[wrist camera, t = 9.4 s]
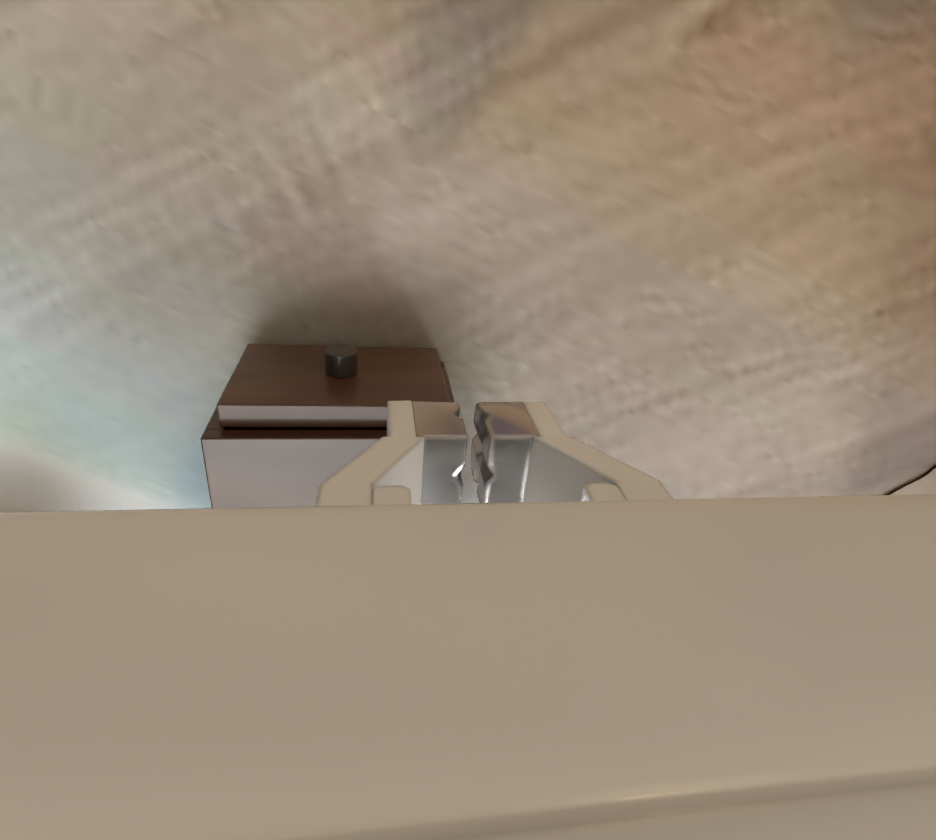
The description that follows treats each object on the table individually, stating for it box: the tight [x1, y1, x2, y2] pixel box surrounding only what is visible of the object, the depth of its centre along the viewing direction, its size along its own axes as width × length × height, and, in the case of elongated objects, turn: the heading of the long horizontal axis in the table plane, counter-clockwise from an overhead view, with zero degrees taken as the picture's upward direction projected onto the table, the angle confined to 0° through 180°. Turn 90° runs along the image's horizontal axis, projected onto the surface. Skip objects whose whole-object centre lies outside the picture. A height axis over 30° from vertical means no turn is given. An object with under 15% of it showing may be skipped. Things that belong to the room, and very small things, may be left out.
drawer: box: [217, 344, 450, 430], centre depth 32 cm, size 14×10×7 cm
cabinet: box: [201, 362, 461, 508], centre depth 33 cm, size 14×12×9 cm
